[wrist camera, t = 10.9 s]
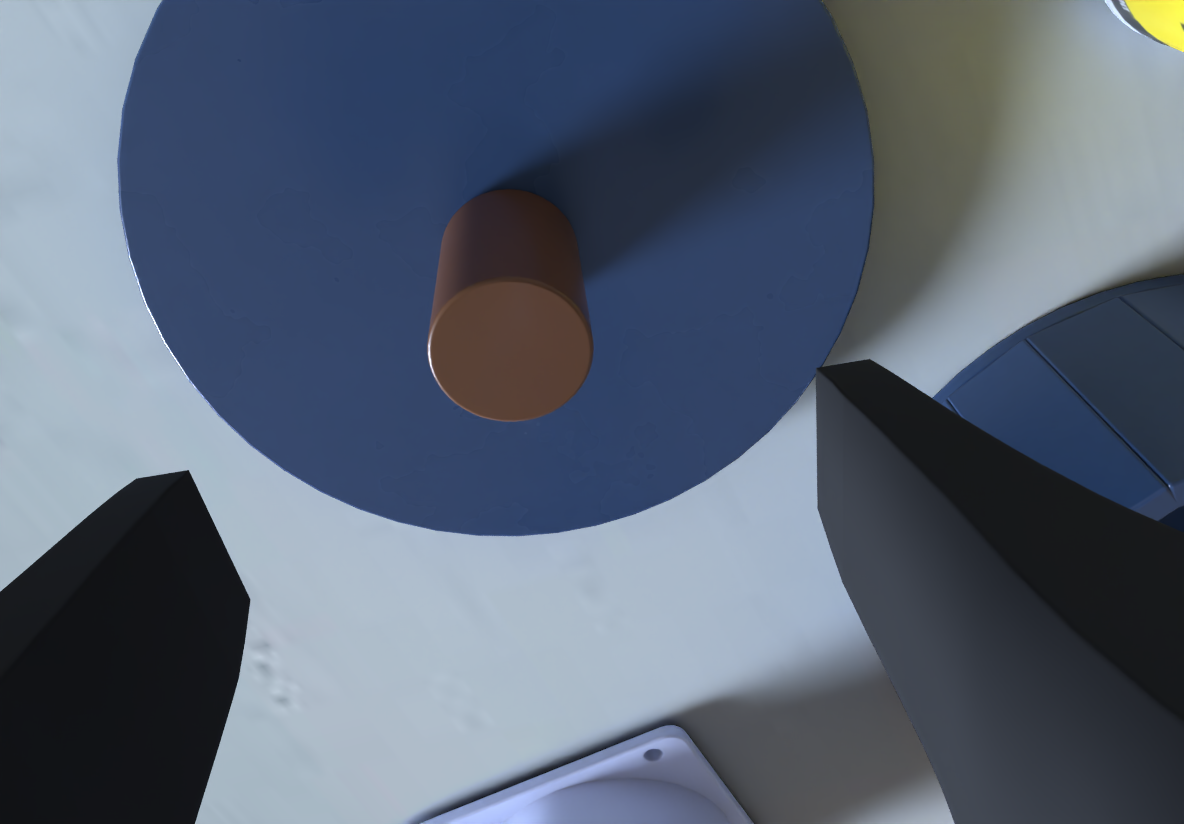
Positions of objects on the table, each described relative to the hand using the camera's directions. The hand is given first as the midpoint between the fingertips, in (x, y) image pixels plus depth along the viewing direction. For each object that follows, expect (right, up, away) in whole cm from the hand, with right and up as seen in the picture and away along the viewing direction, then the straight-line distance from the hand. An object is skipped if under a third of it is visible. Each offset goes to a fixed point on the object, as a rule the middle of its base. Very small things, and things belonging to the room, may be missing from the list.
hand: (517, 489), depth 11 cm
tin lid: (-1, +4, +6) cm, 7 cm away
